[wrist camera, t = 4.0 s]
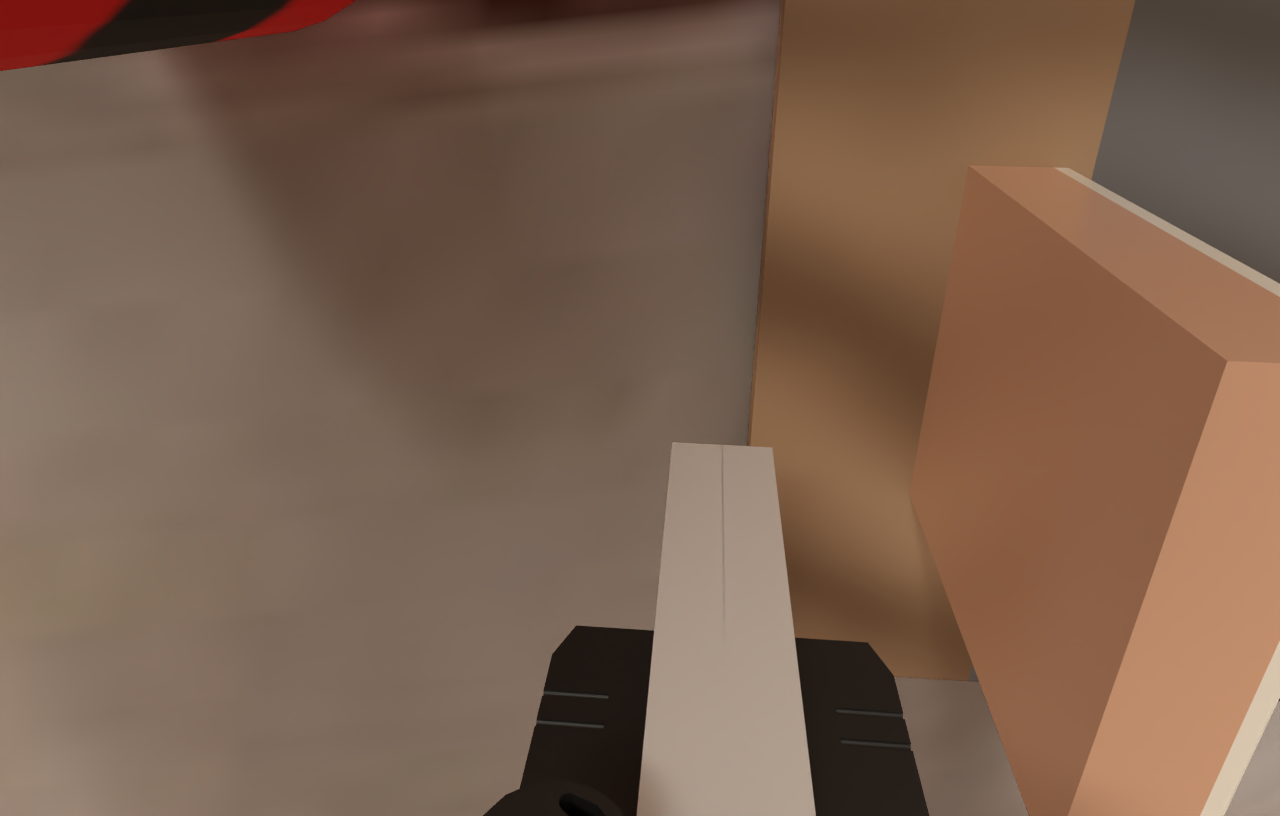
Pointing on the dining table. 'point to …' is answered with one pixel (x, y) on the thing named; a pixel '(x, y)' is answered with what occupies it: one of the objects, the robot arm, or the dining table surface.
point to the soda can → (141, 25)
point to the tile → (1107, 493)
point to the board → (926, 230)
